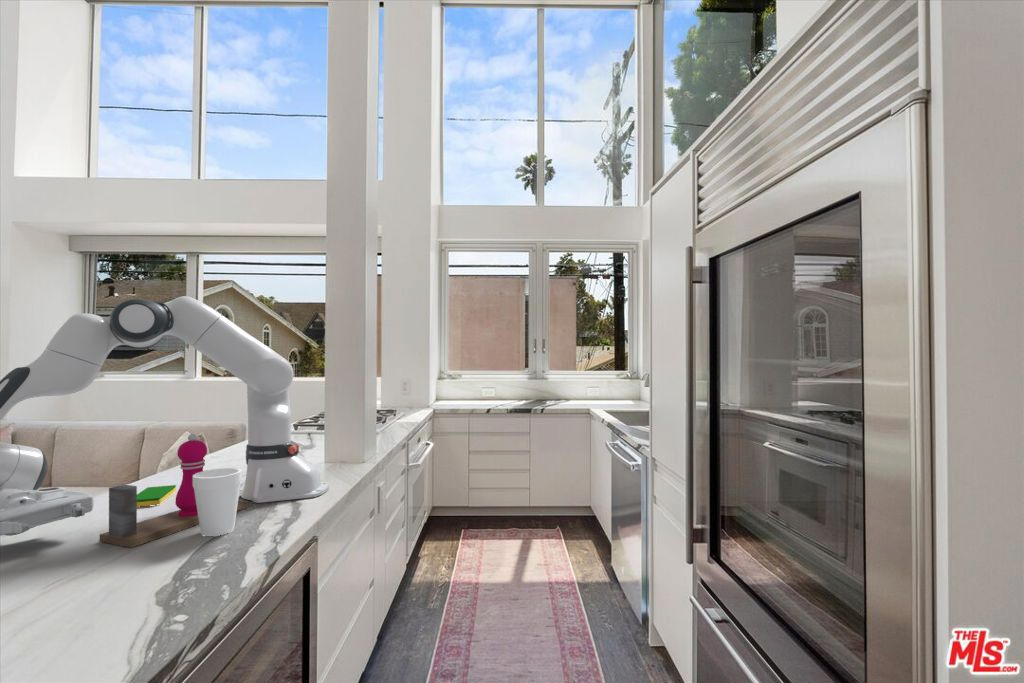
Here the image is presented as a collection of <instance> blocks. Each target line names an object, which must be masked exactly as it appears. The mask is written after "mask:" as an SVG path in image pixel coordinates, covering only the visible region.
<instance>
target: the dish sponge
mask: <svg viewBox="0 0 1024 683" xmlns="http://www.w3.org/2000/svg"><path fill="white" fill-rule="evenodd" d="M174 491H176V492H177V485H176V484H173V485H161V486H160V485H159V486H149V487H146V488H145V489H143V490H142V491H140V492H139V493H138V492H137V507H138V508H140V507H139V506H150V505H157V504H160V503H161V502H162V501H164V500H165V499H166V498H167V497H168V496H170V495H171V494H172V493H173V492H174ZM164 502H165V501H164ZM150 507H151V506H150Z"/></svg>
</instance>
